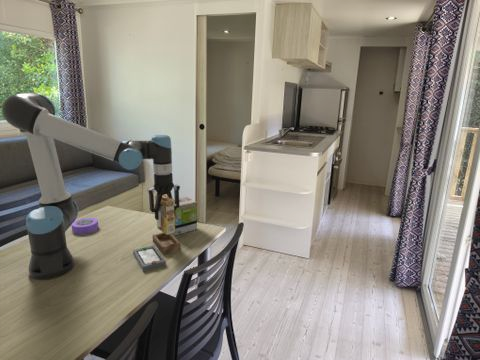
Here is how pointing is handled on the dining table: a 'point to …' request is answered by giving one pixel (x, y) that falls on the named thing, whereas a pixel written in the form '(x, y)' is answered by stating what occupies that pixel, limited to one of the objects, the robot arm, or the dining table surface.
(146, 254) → the grey rectangular panel
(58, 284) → the dining table surface
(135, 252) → the base
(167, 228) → the candy box
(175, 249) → the trough
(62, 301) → the dining table surface
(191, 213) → the tea box
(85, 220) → the masking tape
